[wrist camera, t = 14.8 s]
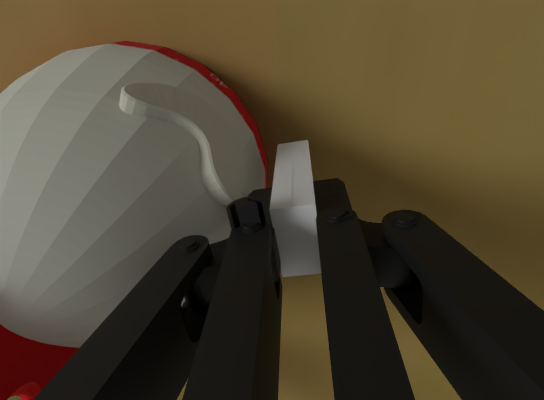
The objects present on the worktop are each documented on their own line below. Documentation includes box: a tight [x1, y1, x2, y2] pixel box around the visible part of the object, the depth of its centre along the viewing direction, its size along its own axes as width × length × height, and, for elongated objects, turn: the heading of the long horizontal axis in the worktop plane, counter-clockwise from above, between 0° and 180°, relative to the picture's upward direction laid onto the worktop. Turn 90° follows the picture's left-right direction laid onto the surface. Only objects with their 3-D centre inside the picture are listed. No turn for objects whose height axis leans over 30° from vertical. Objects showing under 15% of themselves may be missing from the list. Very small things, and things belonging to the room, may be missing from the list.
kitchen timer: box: [0, 41, 267, 400], centre depth 14 cm, size 14×14×15 cm
